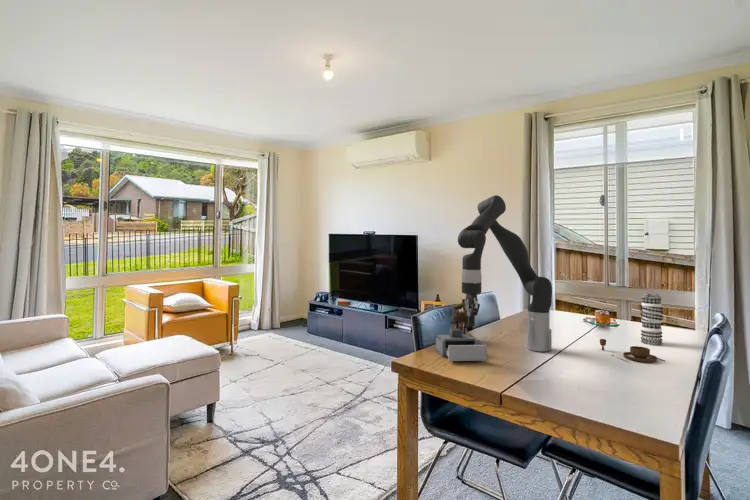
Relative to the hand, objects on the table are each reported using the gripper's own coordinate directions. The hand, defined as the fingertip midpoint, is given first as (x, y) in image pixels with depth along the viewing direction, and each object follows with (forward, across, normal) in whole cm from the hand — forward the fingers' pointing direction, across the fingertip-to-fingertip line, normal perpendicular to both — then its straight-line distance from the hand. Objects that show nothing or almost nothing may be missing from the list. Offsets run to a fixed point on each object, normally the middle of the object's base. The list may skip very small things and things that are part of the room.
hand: (471, 325), depth 151 cm
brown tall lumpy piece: (+16, -40, +8) cm, 44 cm away
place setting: (+16, -11, +75) cm, 78 cm away
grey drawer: (+16, -12, 0) cm, 20 cm away
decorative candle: (+16, -28, +98) cm, 103 cm away
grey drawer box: (+16, -20, 0) cm, 25 cm away
